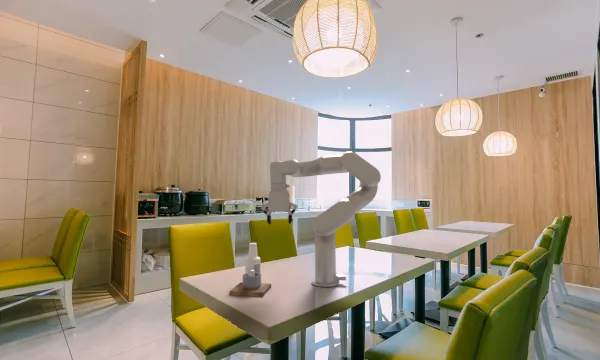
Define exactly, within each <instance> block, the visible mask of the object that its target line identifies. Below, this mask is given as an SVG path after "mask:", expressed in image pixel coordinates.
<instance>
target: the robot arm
mask: <svg viewBox="0 0 600 360" xmlns="http://www.w3.org/2000/svg"><path fill="white" fill-rule="evenodd" d="M345 173H346V174H347V173H349V174H351V175H352V176H353V177H355V178H356V179H357V180H358V181H359V186H358V187H357V189H355V190H354V191H353V192H351V193H350V194H349V195H347V196H345V197H344V198H343V199H339V200H338V201H337V202H336V203H334V204H333V205H331V206H330V207H329V208H327V209H326V210H325V211H323V212H322V213H320V214H318V215H317V216H316V217H314V219H313V221H312V227H313V230H314V278H313V279H312V280H311V284H312V285H313V286H315V287H316V286H317V287H320V288H330V287H331V288H333V287H337V286H339V285H340V281H347V275H343V274H338V272H337V271H336V270H337V260H336V251H337V250H336V249H337V247H336V232H337V230H339V229H340V228H342V227H344V226H345V225H346V224H348V223H349V222H350V221H352V220H353V219H354V217H355V216H356V214H357V213H359V212H360V211H362V210H363V209H364V208H365V207H367V206H368V205H369V204H370V203H371V202H372V201H373V200H374V199H375V197H376V196H377V193H378V188H379V187H378V184H380V181H381V179H382V176H381V172H380V171H379V169H378V168H376V166H374V165H372V164H371V163H370V162H368V161H367V160H365V158H363V157H362V156H360V155H359V154H357V153H356V152H354V151H345V152H344V153H342V154H336V155H335V154H334V155H324V156H320V157H318V158H316V159H313V160H310V161H309V160H307V161H298V160H296V159H288V160H283V161H272V162H270V164H269V174H270V175H269V180H270V190H269V193H268V200H267V203H265V204H264V205H262V206H261V207H260V208H261V210H262V212H263V214H265V215H266V223H267V224H268V225H271V224H272V215H271V214H272V213H274V212H287V213H288V224H289V225H290V224H292V222H293V214H294V213H295V212H296V210H297V208H298V204H295V203H293V202H291V198H290V191H289V190H288V188H290V184H288V183H287V176H290V177H292V178H303V177H313V176H324V175H333V174H334V175H335V174H345ZM291 206H292V207H293V208H292V210H291ZM267 207H268V208H267ZM266 208H267V209H268V211H267V210H266Z"/></svg>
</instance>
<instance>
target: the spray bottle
mask: <svg viewBox="0 0 600 360" xmlns="http://www.w3.org/2000/svg"><path fill="white" fill-rule="evenodd" d="M257 245H258V243H257V242H250V243H249V247H248V256H247V257H246V258H245V263H244V264H245V266H244V267H245V273H244V274H246V273H248V270H249V269H254V270H255V273H260V274H261V257H260V256H259V255H258V246H257Z"/></svg>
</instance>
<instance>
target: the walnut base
mask: <svg viewBox="0 0 600 360" xmlns="http://www.w3.org/2000/svg"><path fill="white" fill-rule="evenodd" d="M271 288H272V283H265V282H264V283H262V282H261V287H260V288H259V289H255V290H246V289H243V281H242V282H239V283H238V284H237V285H235V286H234V287H233V288H232V289H230V290H229V294H228V295H229V296H244V297H245V296H246V297H264V296H265V295H266V294H267V293H268V292H269V290H270V289H271Z"/></svg>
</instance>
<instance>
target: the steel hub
mask: <svg viewBox="0 0 600 360" xmlns="http://www.w3.org/2000/svg"><path fill="white" fill-rule="evenodd" d="M242 282H243V289H246V290H255V289H259V288H260V287H261V283H262V274H261V272H260V273H255V276H248V273H246V274H245V273H244V274H242Z"/></svg>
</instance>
